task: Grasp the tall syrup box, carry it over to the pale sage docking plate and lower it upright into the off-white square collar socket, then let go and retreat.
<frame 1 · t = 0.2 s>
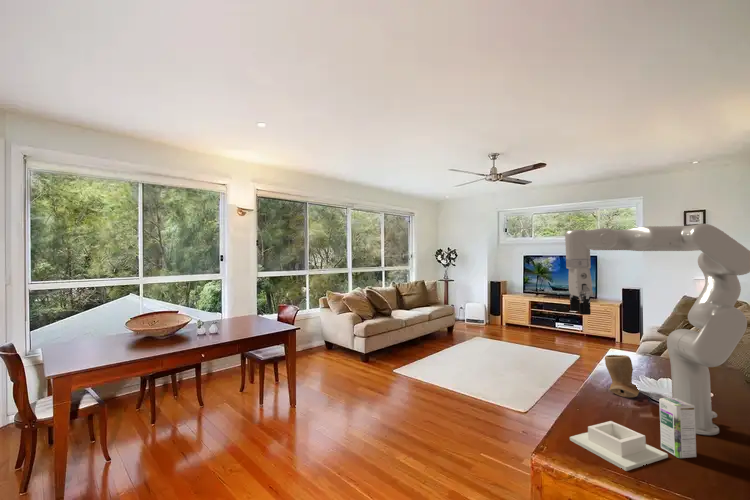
hand: (580, 312, 123), 37 cm above the table, tool pointing down, fingers open, 9 cm apart
tan boot: (622, 392, 144), on the table
dock socket: (616, 448, 101), on the table
syrup box: (678, 453, 99), on the table
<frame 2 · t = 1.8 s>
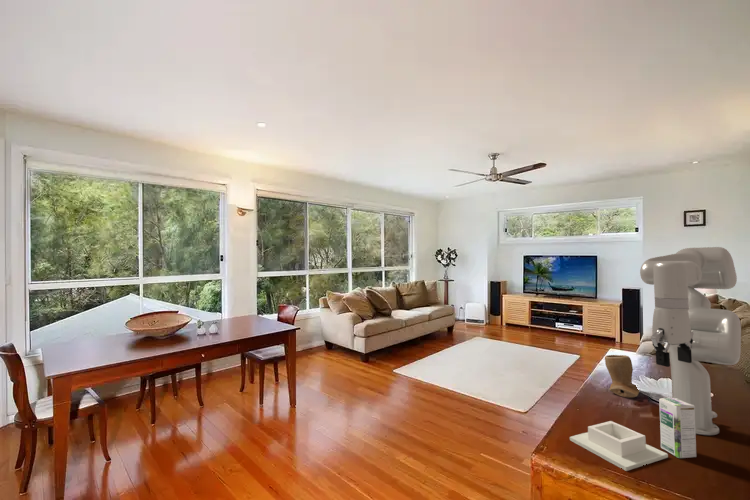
hand: (674, 363, 100), 25 cm above the table, tool pointing down, fingers open, 9 cm apart
nothing on the table moved.
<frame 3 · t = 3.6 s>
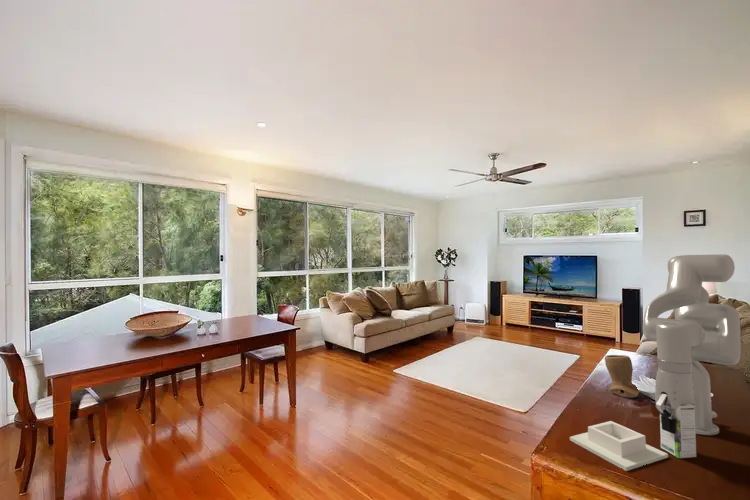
hand: (677, 428, 99), 7 cm above the table, tool pointing down, fingers open, 6 cm apart
syrup box: (678, 453, 99), on the table, touching gripper
everything else where it was.
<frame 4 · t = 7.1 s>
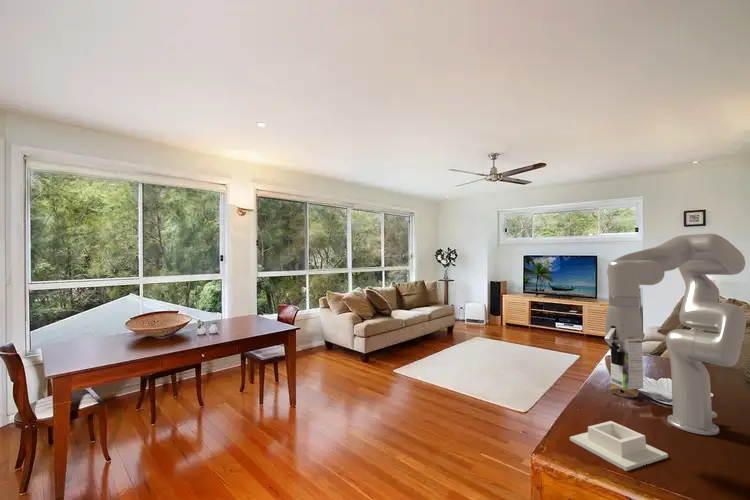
hand: (625, 362, 102), 25 cm above the table, tool pointing down, fingers closed on syrup box, 6 cm apart
syrup box: (627, 386, 101), point 18 cm above the table, touching gripper
everything else where it was.
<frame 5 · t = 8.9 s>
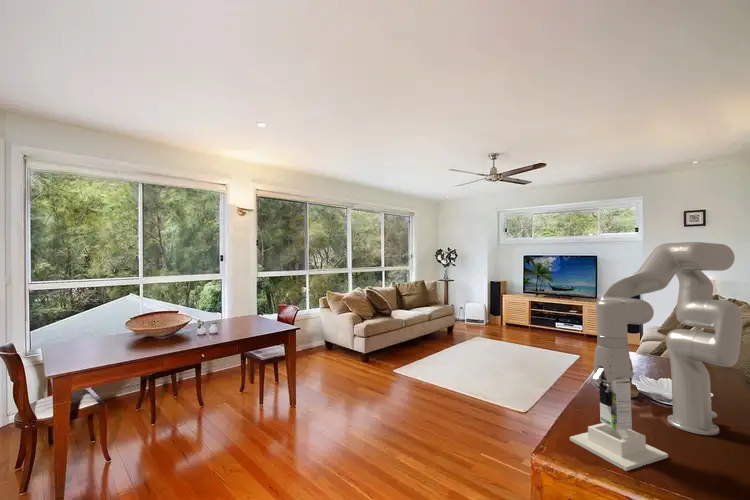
hand: (614, 402, 102), 13 cm above the table, tool pointing down, fingers closed on syrup box, 6 cm apart
syrup box: (616, 425, 102), point 6 cm above the table, touching gripper
everything else where it was.
when the fingers open (9 cm above the table, at t = 10.3 s): syrup box drops 1 cm, resting on dock socket.
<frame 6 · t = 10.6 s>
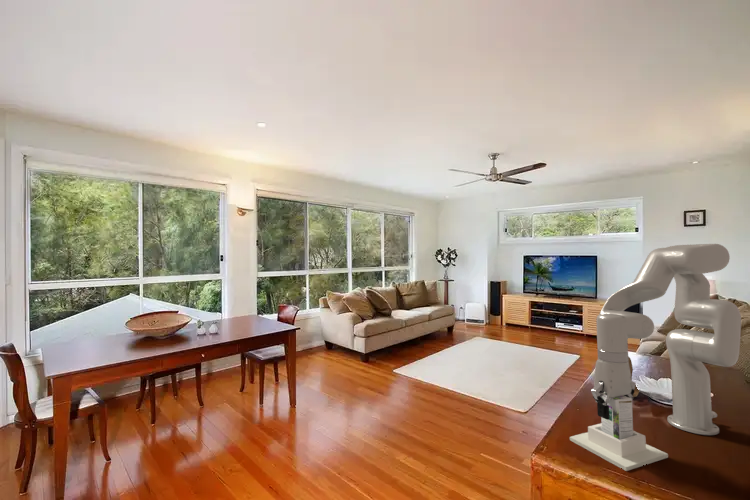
hand: (615, 414, 102), 10 cm above the table, tool pointing down, fingers open, 9 cm apart
syrup box: (617, 445, 102), point 1 cm above the table, touching dock socket
everything else where it was.
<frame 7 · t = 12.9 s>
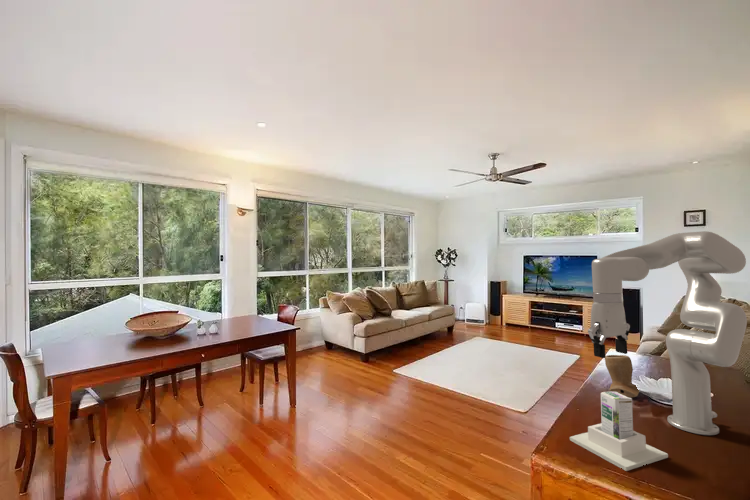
hand: (610, 354, 105), 27 cm above the table, tool pointing down, fingers open, 9 cm apart
nothing on the table moved.
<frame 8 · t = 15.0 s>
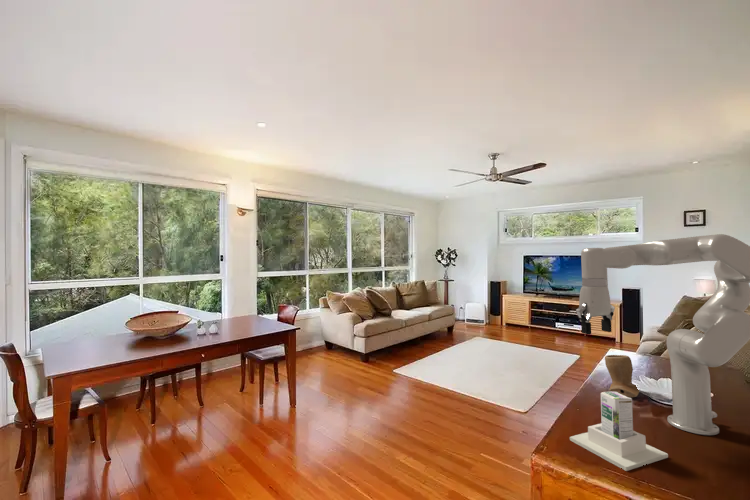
hand: (596, 332, 120), 30 cm above the table, tool pointing down, fingers open, 9 cm apart
nothing on the table moved.
at the end: syrup box 0.5 cm off-centre on the dock socket, point 0.8 cm above the dock socket's base; syrup box tilted 0°; the gripper is holding nothing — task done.
